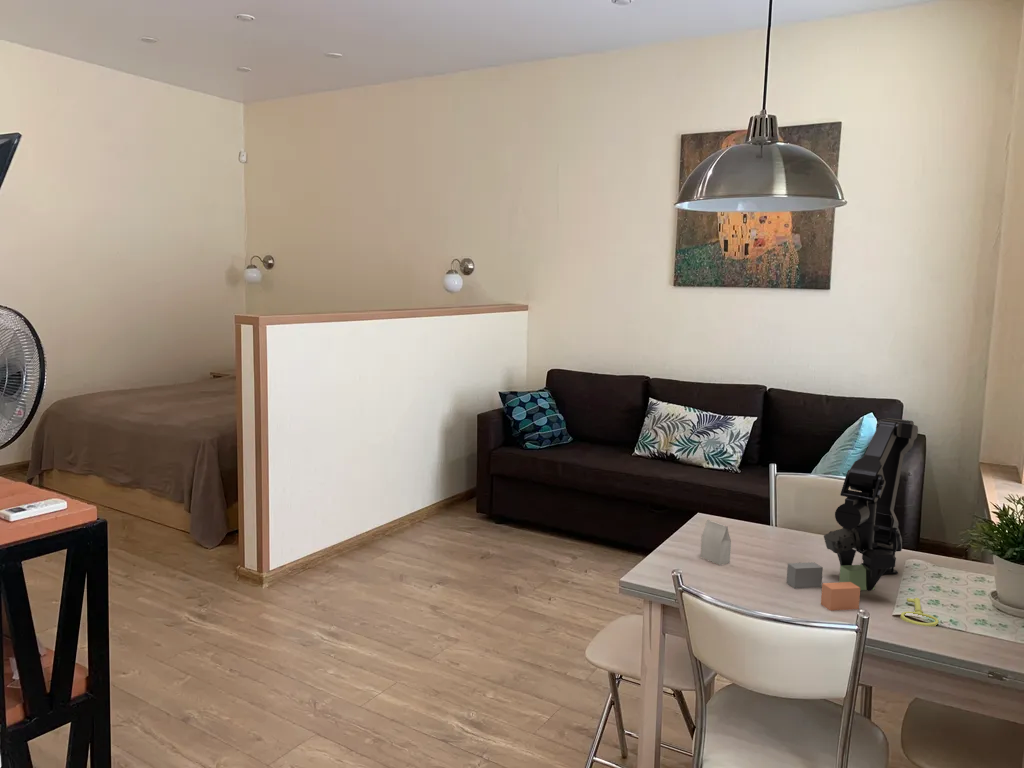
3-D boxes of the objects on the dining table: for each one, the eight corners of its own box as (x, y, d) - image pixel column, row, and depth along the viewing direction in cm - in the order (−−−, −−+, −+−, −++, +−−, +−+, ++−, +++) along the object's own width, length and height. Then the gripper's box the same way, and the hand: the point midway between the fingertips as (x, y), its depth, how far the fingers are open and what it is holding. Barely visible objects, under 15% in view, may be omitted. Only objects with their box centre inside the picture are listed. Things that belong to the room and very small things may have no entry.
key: (918, 605, 174) (918, 596, 174) (942, 629, 162) (943, 619, 162) (885, 604, 175) (885, 595, 175) (906, 627, 163) (907, 617, 163)
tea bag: (719, 565, 197) (721, 527, 195) (700, 557, 202) (702, 520, 201) (729, 563, 199) (731, 525, 197) (710, 555, 204) (712, 518, 203)
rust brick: (848, 603, 174) (850, 581, 174) (858, 609, 171) (860, 587, 170) (820, 604, 173) (822, 583, 172) (830, 611, 169) (831, 589, 169)
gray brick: (812, 582, 187) (814, 562, 186) (821, 587, 183) (822, 567, 183) (786, 583, 186) (787, 563, 185) (794, 589, 182) (795, 568, 181)
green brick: (865, 584, 186) (866, 564, 185) (874, 590, 182) (876, 569, 182) (838, 585, 185) (840, 565, 184) (847, 591, 181) (849, 571, 181)
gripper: (808, 509, 189) (804, 570, 191) (855, 533, 171) (850, 600, 173) (849, 508, 191) (845, 568, 193) (899, 531, 173) (894, 597, 175)
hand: (856, 583), depth 183 cm, fingers open, 9 cm apart
